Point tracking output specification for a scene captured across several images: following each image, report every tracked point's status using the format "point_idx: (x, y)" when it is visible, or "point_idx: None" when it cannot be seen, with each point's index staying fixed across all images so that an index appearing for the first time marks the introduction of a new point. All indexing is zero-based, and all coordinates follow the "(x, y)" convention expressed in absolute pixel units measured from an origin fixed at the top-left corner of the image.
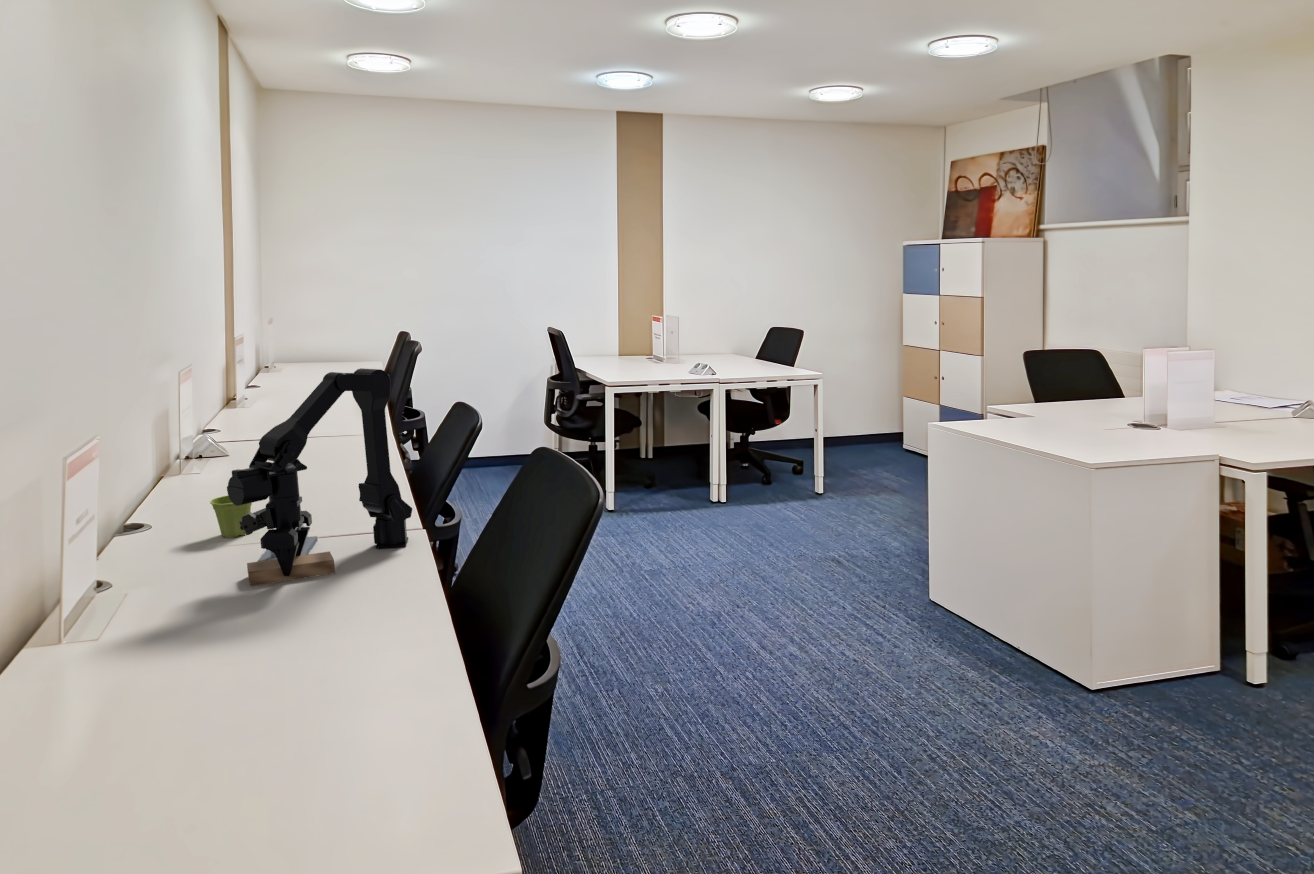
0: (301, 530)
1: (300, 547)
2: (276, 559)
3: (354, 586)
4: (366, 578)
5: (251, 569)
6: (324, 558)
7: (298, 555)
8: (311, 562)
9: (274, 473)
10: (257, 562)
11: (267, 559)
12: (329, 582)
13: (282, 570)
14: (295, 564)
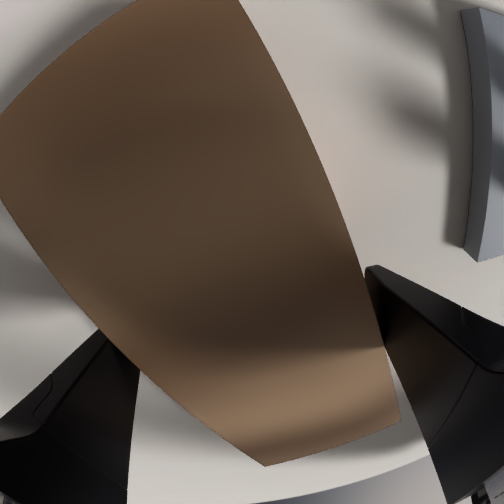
0: (469, 493)
1: (410, 390)
2: (321, 220)
3: (135, 459)
4: (203, 468)
5: (13, 132)
6: (287, 446)
7: (386, 339)
8: (221, 431)
9: None
10: (224, 59)
11: (497, 64)
12: (152, 425)
13: (98, 333)
14: (176, 389)
